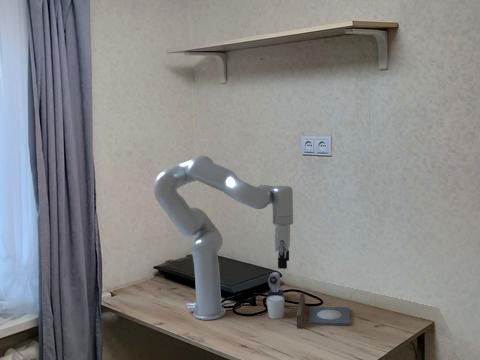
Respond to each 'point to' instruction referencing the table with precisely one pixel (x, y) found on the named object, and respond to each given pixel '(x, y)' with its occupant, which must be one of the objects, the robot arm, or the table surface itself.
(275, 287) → the watch
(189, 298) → the table surface
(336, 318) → the mat
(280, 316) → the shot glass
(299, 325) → the divider wall
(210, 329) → the table surface
